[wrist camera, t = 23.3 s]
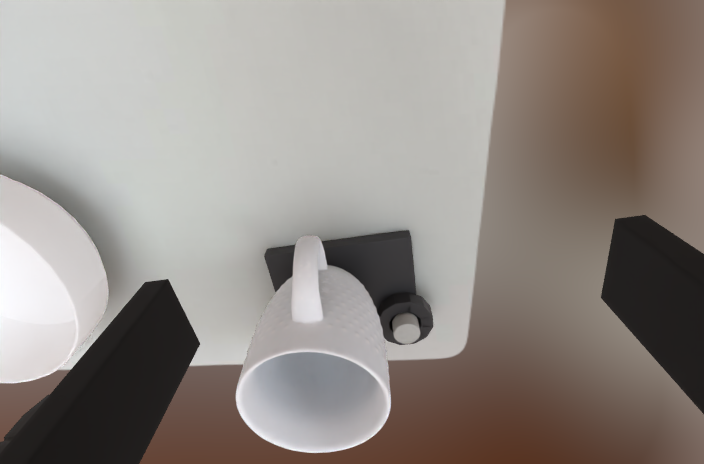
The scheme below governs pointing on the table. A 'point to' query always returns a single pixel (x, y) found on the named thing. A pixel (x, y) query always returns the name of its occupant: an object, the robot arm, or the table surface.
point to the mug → (316, 361)
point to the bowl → (44, 284)
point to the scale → (369, 274)
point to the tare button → (406, 328)
